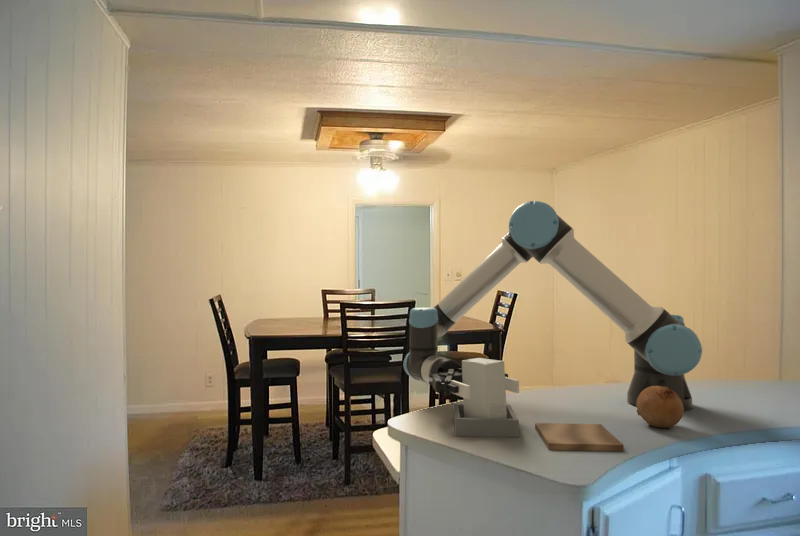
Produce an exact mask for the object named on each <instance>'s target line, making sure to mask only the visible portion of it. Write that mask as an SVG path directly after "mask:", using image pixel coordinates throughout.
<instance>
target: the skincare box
mask: <svg viewBox="0 0 800 536" xmlns="http://www.w3.org/2000/svg"><path fill="white" fill-rule="evenodd" d="M461 368H462V378H463V384H466V385H469V386H470V399H466V398H463V397H462V398H463V400H462V401H463V403H462V404H464V418H500V419H507V410H506V405H507V390H505V373H506V370H505V361H504V360H497V359H489V358H485V357H475V358H468V359H463V360H461Z"/></svg>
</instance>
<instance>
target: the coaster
mask: <svg viewBox="0 0 800 536" xmlns="http://www.w3.org/2000/svg"><path fill="white" fill-rule="evenodd" d="M534 429H535V431H536V432H537V434H538V435H539V437H540V439H541V440H542V441H543V443H544V445H545V446H546V448H547V449H548V451H549V450H551V451H555V450H556V451H589V450H590V451H591V450H592V451H595V452H596V451H598V452H624V451H625V449H624V447H625V446H624V443H622V442H621V441H620V440H619V439H618V437H616V436H615V435H613V434H612V433H611V432H610V430H608V429H607V428H606V427H605V426H603V424H601V423H565V422H564V423H560V422H559V423H558V422H557V423H555V422H554V423H553V422H535V423H534Z"/></svg>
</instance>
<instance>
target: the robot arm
mask: <svg viewBox="0 0 800 536" xmlns="http://www.w3.org/2000/svg"><path fill="white" fill-rule="evenodd" d="M574 230H575V229H574V227H572V226H571V225H570V224H568V223H567V222H566V221H565V220H564V219H563V218H562V217H561V216H559V215H558V214H557V211H556V210H555V209H554V207H552V206H551V205H550V204H548V203H546V202H543V201H540V200H528V201H526V202H524V203H522V204H520V205H518V206H517V207H516V208H515V209H514V211H513V212H512V214H511V215H510V218H509V221H508V231H507V233H505V234H504V236H502V237H501V243H500V244H499V245H498V246H497V247H496V248H495V249H494V250H493V251H492V252H491V253H489V255H488V256H487V257H486V258H485V259H484V260H483V261H482V262H480V263H479V264H478V265H477V266H476V267H475V268H474V269H473V270H472V271H471V272H470V273H469V274H468V275H467V276H465V277H464V278H463V279H462V280H461V281H460V282H459V283H458V284H457V285H456V286H455V287H454V288H453V289H452V290H450V291H449V293H447V295H446V296H445V297H443V298H442V299H441V300H440V301H439V302H438V303H437V304H436V305H435V306H433V307H413V308H411V309H410V311H409V319H408V322H409V350H408V351H409V352H408V353H407V354H406V355H405V357H404V360H403V364H402V366H403V370H404V372H405V374H406V375H408V376H409V377H411V378H412V379H414V380H417V381H418V382H419V381H420V382H422V383H426V384H428V385H430V386H432V387H433V389H434V391H435V393H436V394H440V393H442V391H444V396H445V397H449V396H451V394H453V395H456V396H458V397H460V398H466V399H470V386H469V385H466V384H463V378H462V365H460V363H459V362H457V360H454V359H450V358H447V357H443V356H440V355H438V353H439V352H438V351H439V350H438V349H439V346H438V342H439V338H441V337H443V336H444V335H446V334H447V333H448V331H449V330H450V329H451V328H452V327H453V326H454V325H455V324H456V323H457V322H458V321H460V319H461V318H462V317H464V316H465V315H466V314H467V313H468V312H469V311H470V310H471V309H472V308H474V307H475V305H476V304H478V303H479V302H480V301H481V300H482V299H483V298H484V297H486V295H488V294H489V292H491V291H492V290H493V289H494V288H495V287H496V286H497V285H498V284H500V283H501V282H502V281H503V279H504V278H506V277H507V276H508V275H509V274H510V273H512V271H513V270H515V269H516V268H517V267H518V266H519V265H520V264H522V263H524V264H525V263H526V264H527V263H528V262H529V261H530V260H531V259H532V258H534V259H535V260H536V262H538V263H539V264H541V265H545V264H548V265H550V266H551V267H553V269H555V270H556V271H557V272H558V273H559V274H560V275H562V276H563V277H564V278H565V279H566V280H567V282H569V283H570V284H571V285H572V286H574V288H575V289H577V291H579V292H580V293H581V294H582V295H583V296H584V297H586V298H587V299H588V300H589V301H590V302H591V303H592V304H593V305H594V306H595V307H597V308H598V309H599V311H601V312H602V313H603V314H604V315H605V316H607V318H608V319H610V321H612V322H613V323H614V325H616V326H617V327H619V328H620V329H621V330H622V331H623V332H624V337H625V338H624V340H625V342H626V344H628V345H629V346H630V347H631V348H632V349H633V351H634V352H633V355H634V356H633V359H634V363H633V364H634V369H633V371H634V372H633V376H632V378H631V381H630V384H629V387H628V390H627V394H626V396H627V397H626V398H627V403H629V404H630V405H632V406H636V407H637V405H636V404H637V398H638V396H639V394H640V393H641V392H642V391H643V390H644V389H646V388H648V387H651V386H662V387H668V388H669V389H670V390H672V391H674V392H675V393H676V394H677V395H678V396H679V397H680V399H681V401H682V403H683V407H684V411H688V410H691V409H693V398H692V395H691V394H692V393H691V391H690V389H689V386H688V383H687V380H686V377H685V375H686V374H688V373H690V372H691V371H693V370H694V369H696V367H697V365H699V363H700V361H701V358H702V355H703V354H702V353H703V347H702V343H701V341H700V340H701V339H700V338H699V336H698V335H697V334H696V333H695V332H694V331H693V330H692V329H691V328H690V327H687V326H686V325H685V320H684V319H685V318H683V316H682V315H679V314H678V315H677V314H670V312H668V310H666V309H665V308H664V307H663V306H661V307H660V306H652V305H651V304H649V303H648V302H647V301H646V300H645V299H643V298H642V297H641V296H640V295H639V294H638V293H637V292H636V291H634V290H633V289H632V288H631V287H630V286H629V285H628V284H627V283H625V282H624V281H623V279H621V278H620V277H619V276H618V275H616V274H615V273H614V272H613V271H612V270H611V269H610V268H609V267H608V266H606V265H605V264H604V263H603V262H602V261H601V260H600V259H598V258H597V257H596V256H595V255H594V254H592V252H591V251H590V250H588V248H586V247H585V246H583V245H582V244H581V243H580V242H579V241H578V240H576V237H575V236H574V235H575V231H574ZM505 390H506V391H508V392H511V393H514V394H519V393H520V380H518V379H516V378H511V377H509V374H508V373H506V372H505Z"/></svg>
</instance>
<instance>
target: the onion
mask: <svg viewBox="0 0 800 536" xmlns="http://www.w3.org/2000/svg"><path fill="white" fill-rule="evenodd" d="M636 405H637V406H636V408H637V409H636V413H637V415H638V416H640V417H641V418H642V419H643V420H644V421H645V423H647V424H648V425H649V426H650V427H651V426H652V427H654V428H660V429H661V428H662V429H668V428H669V429H670V428H672V427H674V426H676V425H677V424H678V423H680V421H681V420H682V418H683V416H684V413H685V410H684V407H683V403H682V401H681V399H680V397H679V396H678V395H677V394H676V393H675V392H674V391H672V390H670V389H669V388H668V387H662V386H651V387H648V388H646V389H644V390H643V391H642V392H641V393H640V394H639V396H638V398H637V404H636Z"/></svg>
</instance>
